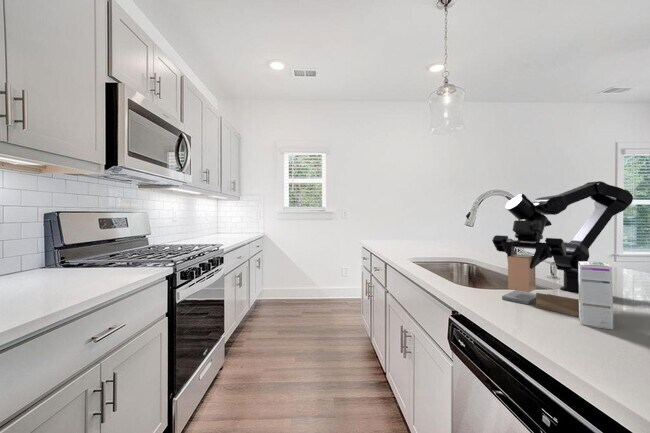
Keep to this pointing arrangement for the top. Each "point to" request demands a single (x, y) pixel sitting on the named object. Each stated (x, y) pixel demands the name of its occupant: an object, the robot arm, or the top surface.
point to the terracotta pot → (521, 273)
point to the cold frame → (558, 303)
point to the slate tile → (520, 297)
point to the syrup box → (595, 294)
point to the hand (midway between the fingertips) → (519, 266)
